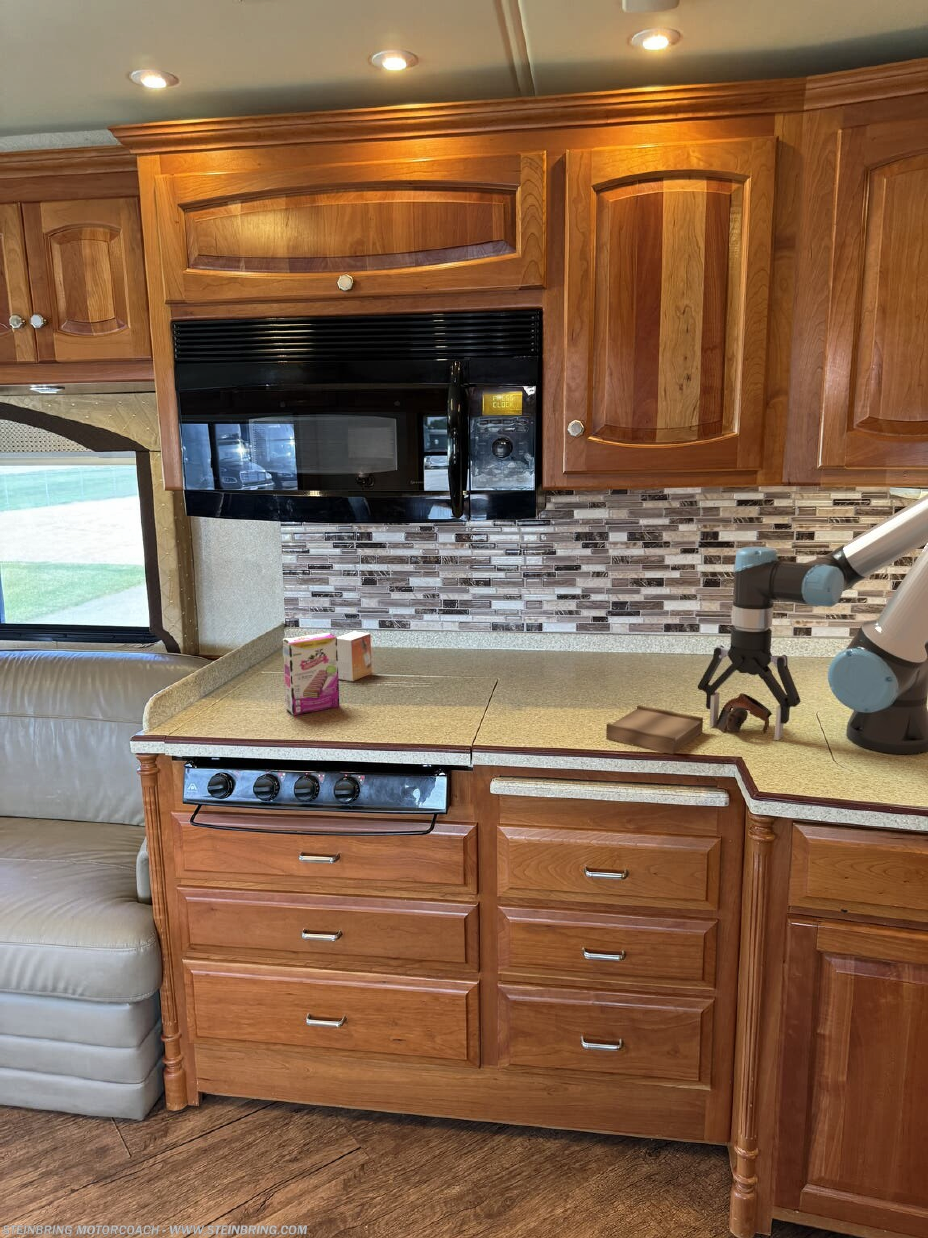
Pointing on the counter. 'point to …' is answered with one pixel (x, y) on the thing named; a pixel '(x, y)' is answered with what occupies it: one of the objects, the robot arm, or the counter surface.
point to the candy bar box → (311, 673)
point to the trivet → (655, 729)
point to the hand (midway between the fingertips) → (745, 731)
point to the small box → (354, 655)
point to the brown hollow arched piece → (742, 713)
